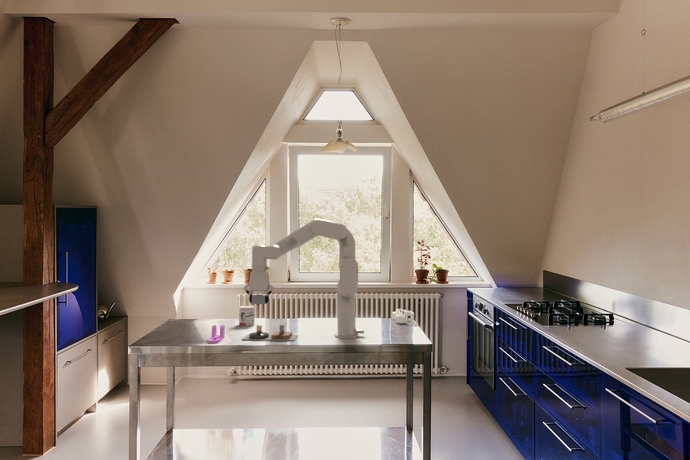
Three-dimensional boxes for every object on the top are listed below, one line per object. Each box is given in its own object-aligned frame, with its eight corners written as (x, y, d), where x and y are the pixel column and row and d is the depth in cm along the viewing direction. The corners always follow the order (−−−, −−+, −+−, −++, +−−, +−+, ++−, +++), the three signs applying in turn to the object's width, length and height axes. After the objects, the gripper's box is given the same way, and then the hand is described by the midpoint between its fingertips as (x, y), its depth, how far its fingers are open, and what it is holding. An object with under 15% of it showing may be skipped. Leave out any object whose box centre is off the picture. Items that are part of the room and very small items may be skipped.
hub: (270, 335, 248) (270, 323, 248) (266, 339, 238) (266, 327, 238) (252, 334, 249) (252, 323, 249) (247, 338, 239) (247, 327, 239)
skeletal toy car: (391, 320, 296) (391, 308, 296) (408, 320, 297) (408, 308, 297) (397, 326, 276) (397, 314, 276) (415, 326, 277) (415, 313, 277)
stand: (292, 335, 247) (292, 323, 247) (288, 339, 238) (288, 327, 238) (275, 335, 248) (275, 323, 248) (271, 339, 239) (271, 326, 239)
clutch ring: (267, 302, 247) (267, 294, 247) (264, 304, 240) (264, 296, 240) (253, 302, 248) (254, 294, 248) (250, 304, 240) (250, 296, 240)
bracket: (213, 337, 245) (213, 324, 245) (224, 337, 245) (224, 324, 245) (206, 343, 232) (206, 329, 232) (217, 343, 232) (218, 329, 232)
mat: (298, 336, 248) (298, 335, 248) (294, 341, 237) (294, 339, 237) (247, 335, 250) (247, 334, 250) (241, 340, 239) (241, 339, 239)
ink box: (239, 327, 271) (239, 307, 271) (239, 326, 276) (239, 306, 276) (254, 327, 273) (254, 306, 273) (253, 325, 278) (254, 305, 278)
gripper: (277, 268, 247) (276, 302, 247) (244, 268, 248) (244, 301, 248) (274, 269, 240) (273, 304, 239) (240, 269, 241) (240, 303, 241)
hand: (258, 302), depth 244 cm, fingers closed on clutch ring, 7 cm apart
